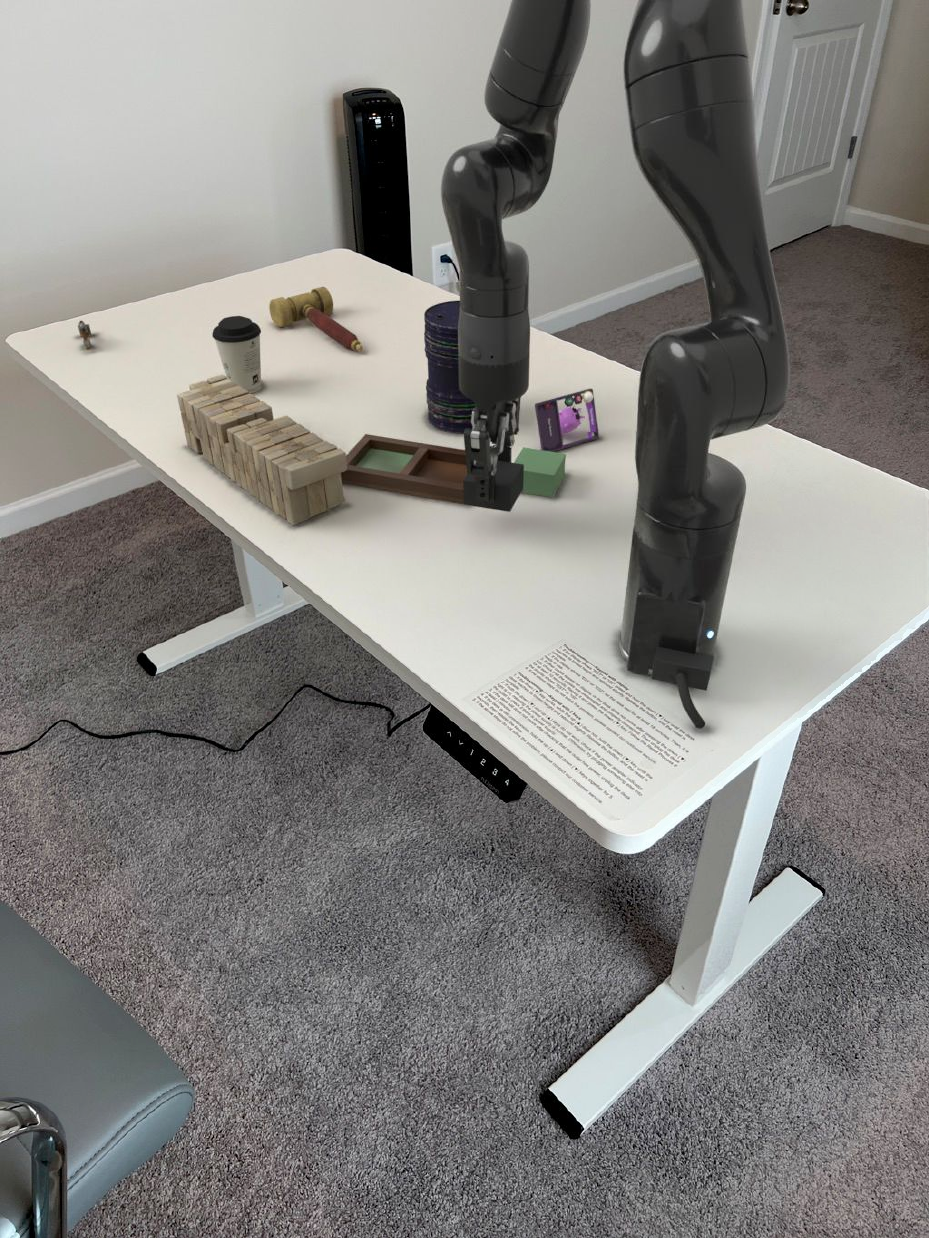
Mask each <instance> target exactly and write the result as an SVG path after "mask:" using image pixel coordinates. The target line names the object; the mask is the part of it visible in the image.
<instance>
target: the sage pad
mask: <svg viewBox="0 0 929 1238" xmlns="http://www.w3.org/2000/svg"><path fill="white" fill-rule="evenodd" d="M566 458H567V454H566V453H562V452H557V451H554V452H550V451H543V450H541V449H537V448H530V447H522V449H521V450H520V452H519V453H518V455H517V457H516V458H515V460H514V462H513V463H518V464H524V477H523V489H522V491H521V493H523V494H528V495H529V494H530V495H535V496H540V497H546V498H554V497H555V495H556V493H557V491H558V489H559V487H560V485H561V484H562V482H563V480H564V478H565V474H566V473H565V472H566Z"/></svg>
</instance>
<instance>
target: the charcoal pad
mask: <svg viewBox="0 0 929 1238" xmlns="http://www.w3.org/2000/svg"><path fill="white" fill-rule="evenodd" d="M480 463H483V462H481V461H480ZM496 469H497V471H496V499H495V501H494V502H493V503H492V504H488V503H482V502H478V501H477V500H476V498H475V476H469V475H466V477H465V478H464V480H463V504H462V505H464V506H469V507H475V508H483V509H488V510H489V509H490V510H494V511H501V512H507V513H511V511H512V509H513V507H514V506H515V504H516V503H517V500H518V498H519V497H520V495H521V493H522V492H521V491H522V489H523V477H524V464H518V463H514V462H512V461H511V462H504V461H497V467H496Z"/></svg>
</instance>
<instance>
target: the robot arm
mask: <svg viewBox="0 0 929 1238" xmlns="http://www.w3.org/2000/svg"><path fill="white" fill-rule="evenodd" d="M591 2H592V1H591V0H510V4H509V9H508V12H507V15H506V19H505V21H504V24H503V27H502V31H501V34H500V37H499V39H498V43H497V47H496V50H495V53H494V56H493V58H492V63H491V66H490V69H489V72H488V75H487V80H486V82H485V88H484V93H483V100H484V106H485V108H486V111H487V112H488V115H490V117H491V118H492V119H493V120H494V121H495V122H496V123H498V124H499V127H498V130H497V132H496V133H495V135H494V138H490V139H487V140H482V141H480V142H475V143H472V144H468V145H465V146H462V147H460V148H458V149H456V150H455V151H454V152H453V153H452V154H451V155H450V156H449V158H448V159H447V162H446V163H445V166H444V169H443V172H442V177H441V183H440V200H441V205H442V210H443V214H444V217H445V221H446V225H447V228H448V232H449V235H450V240H451V243H452V248H453V251H454V253H455V257H456V260H457V265H458V269H459V270H458V271H459V274H458V275H459V276H458V277H459V279H458V280H459V281H458V283H459V300H460V314H459V322H458V356H459V388H460V390H461V392H462V393H463V394H464V395H465V396H466V397H468V398H470V399H471V400H472V401H473V402H474V403H475V405H476V406H475V409H473V411H472V417H471V424H472V426H473V428H472V429H467V428H466V429H465V431H464V433H463V444H464V450H465V456H466V467H467V475H469V476H475V498H476V500H477V501H478V502H482V503H488V504H492V503H493V502H494V501H495V499H496V471H497V469H496V467H497V461H504V462H511V463H512V451H513V450H512V447H514V444H515V441H516V440H515V436H517V435H518V434H519V431H520V428H519V427H520V413H521V400H522V399H521V398H522V397H523V396H524V395H525V394H526V393H527V391H528V390H529V387H530V357H531V356H530V355H531V353H530V351H531V350H530V349H531V322H530V313H529V299H530V298H529V297H530V296H529V295H530V262H529V261H530V260H529V255H528V253H527V251H526V250H525V248H524V247H522V245H520V244H518V243H517V242H514V241H510V240H505V237H504V233H503V220H506V219H509V218H511V217H515V216H518V215H520V214H523V213H525V212H527V211H528V210H530V209H531V208H532V207H534V206H535V205H536V204H537V202H538V201H540V198H541V197H542V195H543V193H544V192H545V190H546V188H547V186H548V184H549V181H550V178H551V174H552V171H553V165H554V158H555V150H556V145H557V138H558V129H559V119H560V113H561V111H562V109H563V107H564V105H565V104H564V103H565V101H566V99H567V96H568V94H569V91H570V89H571V86H572V83H573V81H574V78H575V75H576V74H577V71H578V68H579V65H580V63H581V59H582V57H583V55H584V52H585V48H586V44H587V40H588V35H589V30H590V22H591V7H592V6H591V5H592V4H591ZM746 29H747V28H746V22H745V13H744V1H743V0H637V2H636V5H635V9H634V12H633V16H632V18H631V22H630V26H629V30H628V34H627V38H626V41H625V48H624V53H623V62H622V71H623V72H622V73H623V74H622V75H623V85H624V86H623V87H624V91H625V93H624V95H625V102H626V110H627V111H626V112H627V118H628V125H629V132H630V133H629V134H630V140H631V147H632V152H633V156H634V159H635V162H636V165H637V166H638V167H637V168H639V171H640V173H641V174H642V176H643V178H644V180H645V181H646V183H647V184H648V187H650V189H651V191H652V192H653V194H654V196H655V197H656V198H657V200H658V201H659V203H660V204H661V205H662V207H663V209H664V210H665V211H666V212H667V213H668V215H669V216H670V218H671V219H672V221H673V222H674V223H675V225H676V226H677V227H678V229H679V230H680V232H681V233H682V234H683V236H684V238H685V239H686V241H687V242H688V245H690V247H691V249H692V251H693V254H694V255H695V258H696V260H697V263H698V265H699V268H700V271H701V275H702V279H703V283H704V288H705V293H706V298H707V304H708V305H707V306H708V313H709V321H708V322H703V323H697V324H692V325H688V326H683V327H679V328H675V329H671V330H667V331H664V332H662V333H660V334H659V335H657V336H656V337H655V338H654V339H653V340H652V341H651V343H650V344H649V346H648V347H647V350H646V351H645V354H644V356H643V360H642V364H641V368H640V372H639V373H640V374H639V380H638V392H637V413H636V417H637V418H636V432H635V447H634V448H635V449H634V461H635V470H636V476H637V495H636V497H637V498H636V503H635V505H636V506H635V514H634V521H633V529H632V536H631V537H632V538H631V545H630V553H629V561H628V570H627V579H626V587H625V594H624V595H625V596H624V602H623V603H624V604H623V612H622V621H621V630H620V632H619V638H618V648H619V652H620V654H621V656H622V658H623V659H624V661H626V670H627V671H628V672H631V673H637V674H641V675H646V676H651V680H654V681H659V682H662V683H668V684H671V685H672V684H673V685H677V690H678V695H679V699H680V701H681V704H682V707H683V709H684V711H685V713H686V715H687V717H688V718H689V720H690V721H691V723H692V724H693V725H694V726H695V728H697V729H703V728H705V726H706V721H705V720H704V719H703V717H702V715H701V714H700V713H699V711H698V709H697V708H696V705H695V704H694V701H693V699H692V696H691V692H690V688H691V689H695V690H701V691H705V692H707V691H708V687H709V684H710V678H711V674H712V669H713V664H714V659H715V653H716V643H717V638H718V635H719V634H718V633H719V629H720V623H721V618H722V612H723V607H724V603H725V597H726V594H727V588H728V583H729V579H730V574H731V568H732V563H733V558H734V555H735V554H734V553H735V549H736V543H737V539H738V538H737V537H738V534H739V529H740V524H741V519H742V515H743V510H744V503H745V499H746V493H747V481H746V479H745V476H744V474H743V472H742V471H741V470H740V469H739V467H738V466H736V465H735V464H733V462H730V461H728V460H727V459H725V458H723V457H722V456H719V455H716V454H714V453H710V452H709V451H710V450H709V449H710V444H711V440H715V439H719V438H722V437H727V436H730V435H735V434H738V433H741V432H747V431H751V430H753V429H757V428H760V427H764V426H765V425H769V424H770V423H772V422H774V421H775V420H776V419H777V418H778V416H779V415H780V414H781V413H782V410H783V409H784V407H785V405H786V403H787V399H788V395H789V391H790V381H791V361H790V352H789V345H788V337H787V333H786V328H785V322H784V317H783V311H782V306H781V302H780V296H779V292H778V287H777V281H776V276H775V272H774V267H773V262H772V261H773V260H772V256H771V249H770V245H769V239H768V232H767V231H768V230H767V225H766V224H767V223H766V217H765V209H764V200H763V192H762V184H761V175H760V167H759V158H758V148H757V137H756V120H755V118H756V117H755V104H754V103H755V101H754V92H753V80H752V71H751V60H750V53H749V43H748V36H747V31H746ZM491 444H492V445H491ZM480 461H481V462H483V463H480Z"/></svg>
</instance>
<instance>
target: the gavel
mask: <svg viewBox="0 0 929 1238" xmlns="http://www.w3.org/2000/svg"><path fill="white" fill-rule="evenodd" d="M333 311H334V300H333V296H332V294H331V292H330V291H329V289H328V288H327V287H326V286H320V287H316V288H312V289H311V291H308V292H304V293H301V294H297V295H293V296H288V297H287V298H286V297H284V296H281V297H276V298H273V299H270V300H269V314H270V318H271V320H272V322H273V323H274V325H276V326H277V328H283V327H287V326H290V325H292V324H293V322H298V321H301V320H306V319H307V320H308V321H309V322H310V323H311V324H312V325H313V326H314V327H316V328H317V329H319V330H320V331H321V332H323V333H324V334H325V335H327V336H328V337H330V338H331V339H332V340H334V341H335V342H337V343H338V344H340V345H341V346H342V347H344V348H345V349H347V350H353V351H358V352H361V351H363V349H364V348H363V347H364V346H363V345H362V344H361V341H359V339H358V336H357V335H356V334H355V333H353V332H352V331H350V330H349V329H348V328H347V327H344V326H343V325H342V324H340V322H337V321H336V320H335V319H334V318H332V317H330V316H329V315H331V314H332V313H333Z"/></svg>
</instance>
